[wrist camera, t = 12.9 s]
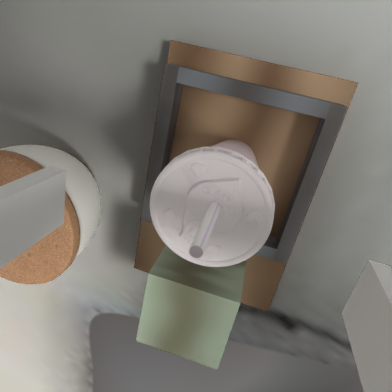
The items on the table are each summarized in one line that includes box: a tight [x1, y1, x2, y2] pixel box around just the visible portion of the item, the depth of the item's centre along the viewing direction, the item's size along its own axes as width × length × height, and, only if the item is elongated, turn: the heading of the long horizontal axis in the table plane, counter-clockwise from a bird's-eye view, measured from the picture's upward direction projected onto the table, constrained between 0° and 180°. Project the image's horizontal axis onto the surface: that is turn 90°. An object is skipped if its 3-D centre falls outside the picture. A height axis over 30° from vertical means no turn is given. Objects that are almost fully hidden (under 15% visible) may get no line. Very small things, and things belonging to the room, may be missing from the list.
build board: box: [134, 40, 358, 370], centre depth 22 cm, size 13×20×9 cm, turn 168°
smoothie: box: [150, 139, 275, 267], centre depth 18 cm, size 6×6×14 cm
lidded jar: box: [0, 145, 102, 284], centre depth 26 cm, size 11×11×9 cm
